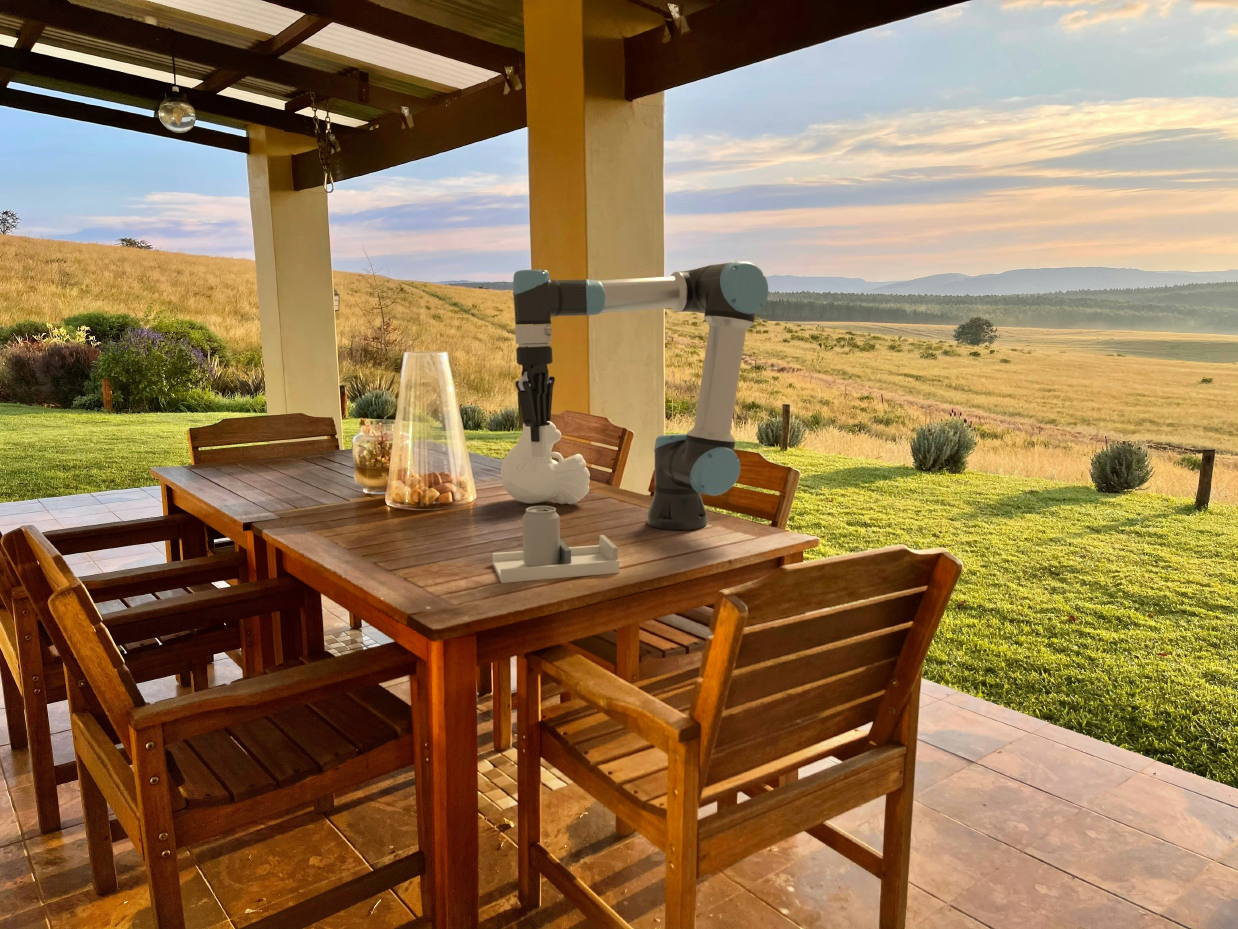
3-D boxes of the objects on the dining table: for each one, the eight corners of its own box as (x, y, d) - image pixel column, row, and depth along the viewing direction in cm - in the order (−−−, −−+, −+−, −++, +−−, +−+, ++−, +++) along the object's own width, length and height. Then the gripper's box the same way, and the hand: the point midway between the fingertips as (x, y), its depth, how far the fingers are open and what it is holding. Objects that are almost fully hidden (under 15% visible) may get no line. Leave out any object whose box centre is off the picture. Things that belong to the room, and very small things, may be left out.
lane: (602, 555, 178) (602, 533, 177) (619, 572, 165) (619, 549, 164) (492, 564, 171) (492, 541, 170) (501, 582, 159) (500, 558, 158)
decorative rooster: (483, 479, 230) (514, 416, 216) (518, 461, 243) (550, 400, 228) (545, 538, 225) (581, 477, 210) (578, 517, 237) (614, 458, 223)
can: (563, 560, 170) (563, 505, 168) (554, 571, 163) (553, 513, 161) (529, 558, 172) (528, 503, 170) (518, 569, 164) (517, 511, 162)
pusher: (560, 555, 173) (560, 537, 173) (571, 569, 164) (571, 550, 163) (554, 556, 173) (554, 538, 172) (565, 570, 163) (565, 550, 163)
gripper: (533, 346, 163) (539, 462, 167) (564, 344, 174) (568, 452, 178) (502, 347, 166) (507, 460, 170) (534, 344, 177) (538, 450, 181)
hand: (539, 456), depth 174 cm, fingers closed
